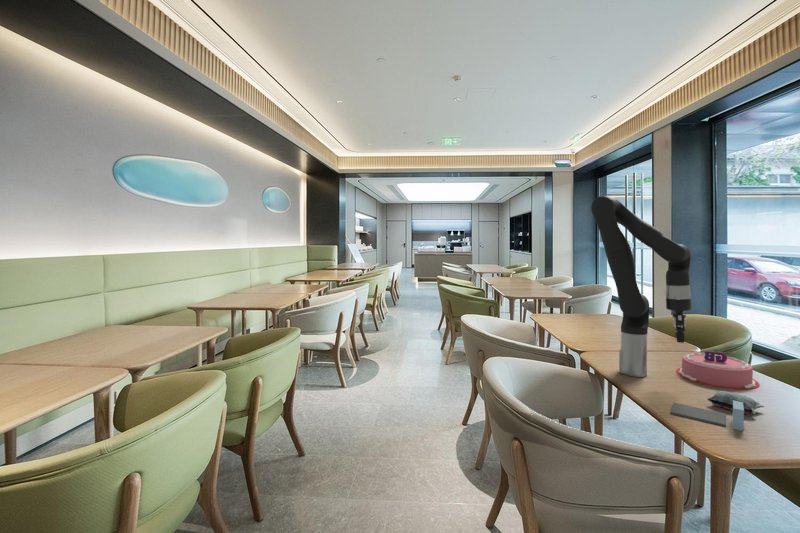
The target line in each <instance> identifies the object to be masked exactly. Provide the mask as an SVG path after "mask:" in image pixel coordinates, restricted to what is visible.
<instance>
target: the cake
mask: <svg viewBox="0 0 800 533" xmlns="http://www.w3.org/2000/svg"><path fill="white" fill-rule="evenodd" d="M753 369H754V368H753V366H752V365H751V364H750V363H748V362H746V361H744V360H742V359H739V358H736V357H733V356H732V357H731V356H727V353H725V352H723V351H716V352H715V351H713V350H705V351H704V352H699V353H698V352H693V353H688V354H685V355H682V358H681V367H678V368H676V370H675V373H676V374H677V375H678V376H679V377H681V378H683V379H685V380H688V381H691V382H694V383H695V384H696V383H697V384H700V385H704V386H709V387H714V388H719V389H726V390H737V391H738V390H739V391H748V390H756V389H759V388H760V386H761V385H760V383H759V381H757V380H756V379H754V377H753V376H754V375H753Z"/></svg>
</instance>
